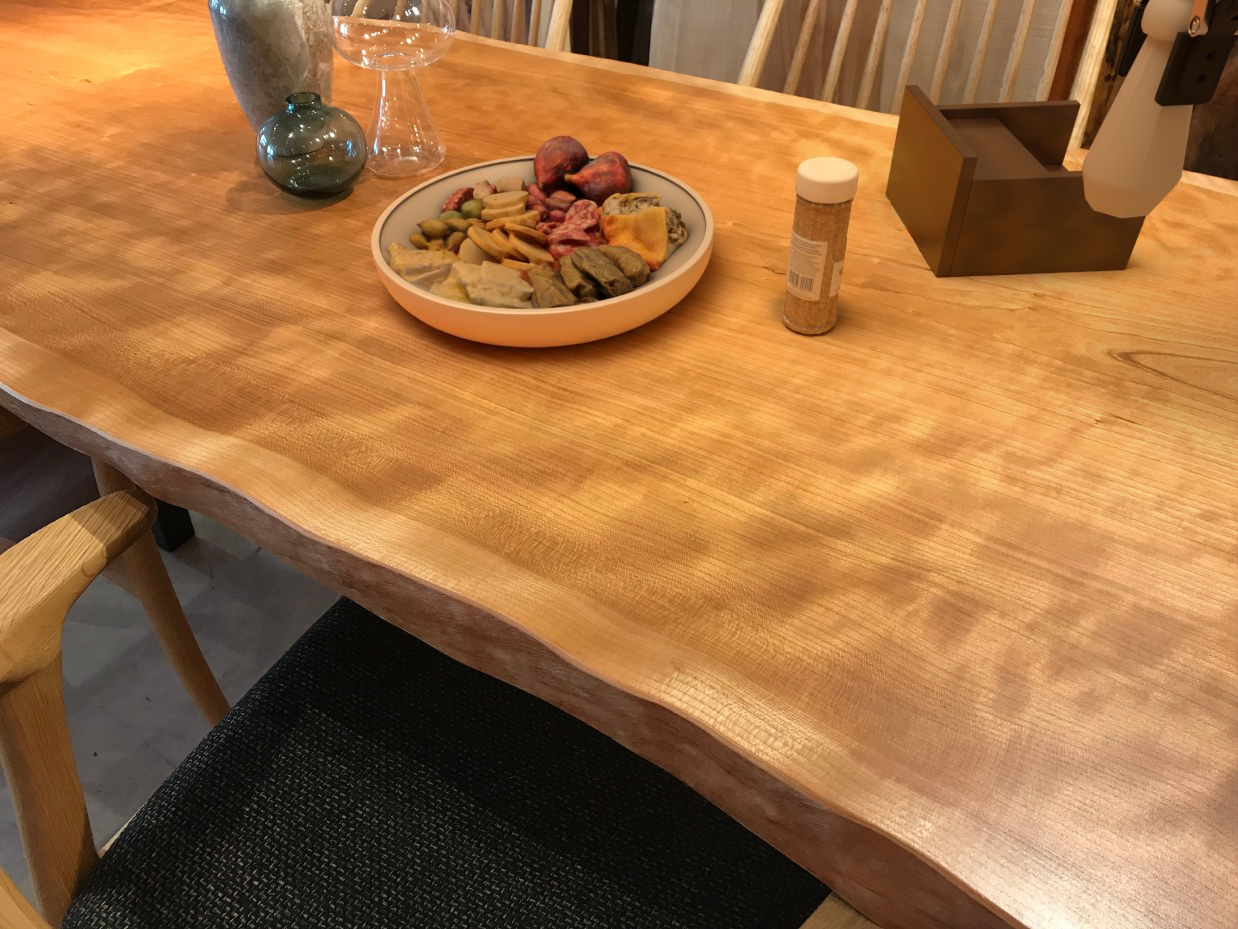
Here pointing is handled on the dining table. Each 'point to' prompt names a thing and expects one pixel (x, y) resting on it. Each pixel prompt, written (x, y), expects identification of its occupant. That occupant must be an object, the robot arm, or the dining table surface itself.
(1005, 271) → the box
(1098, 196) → the salt shaker
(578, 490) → the dining table surface
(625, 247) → the bowl
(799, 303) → the sprinkles bottle
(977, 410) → the dining table surface
